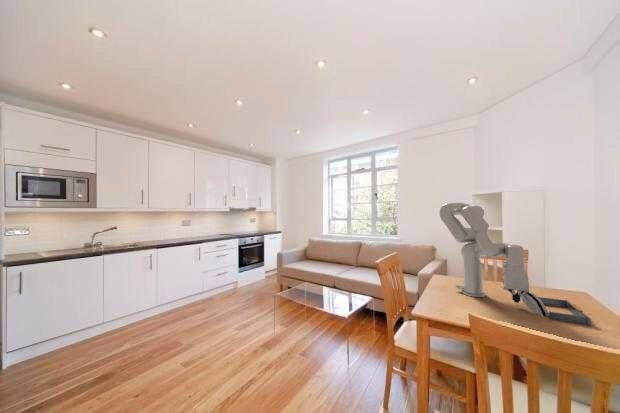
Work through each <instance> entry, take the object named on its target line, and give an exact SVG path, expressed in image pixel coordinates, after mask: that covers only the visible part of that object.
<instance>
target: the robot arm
mask: <svg viewBox="0 0 620 413" xmlns="http://www.w3.org/2000/svg"><path fill="white" fill-rule="evenodd" d="M484 215H485V210H484V208H483V207H481V206H479V205H476V204H472V203H471V204H469V203H464V202H447V203H445V204H443V205H441V207H440V209H439V217H440V219H441V221H442V222H443V224H444V225H445V226H446V228H447V229H448V231H449V233H450V235H452V237H453V238H454V240H455V241H456V242H457V243H460V244H464V245H463V246H462V247H461V248H460V249H461V250H460V252H461V256H462V262H463V263H462V264H463V265H462V266H463V267H462V268H463V283H462V285H460V284H456V285H455V288H456V289H457V290H461V293H462V294H464V295H465V296H469V297H472V298H473V297H474V298H484V297H486V296H487V293H486V292H485V291H484V290H483V266H482V265H483V264H482V262H481V259H480V258H484V257H486V256H487V257H489V258H498V257H499V258H500V257H505V264H502V265H501V266H502V268H504V270H503V275H502V276H503V278H502V283H503V287H502V289H503V290H504V291H507V292H509V293H510V294H511V297H512V298H511V300H512V301H513V302H514V303H517V304H520V302H521V297H520V296H521V294H523V293H527V292H529V291H530V282H529V275H528V273H527V271H526V270H525V256H524V247H523V246H522V245H519V244H508V243H505V242H493V241H492V239H490V237H489V235H488V230H489V227H490V225H489V223H488V222H487V221H486V219H485V218H484ZM455 216H462V218H463V219H464V220H465V221H466V223H467V224H468V225H469V227H466V226H464V224H462V222H461V221H460V220H459V219H458V218H457V217H455ZM515 291H516V292H515Z"/></svg>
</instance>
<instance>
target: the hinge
mask: <svg viewBox="0 0 620 413" xmlns="http://www.w3.org/2000/svg"><path fill="white" fill-rule="evenodd" d="M538 297H539V296H537V295H536V294H535V293H534V292H532V291H530V290H529V292H527V293H523V294H521V296H520V300H521V301H522V303H523V305H525V307H528V308H529V309H530V310H531V311H533V312H534V313H536V314H537V316H539V317H542V318H543V317H544V316H546V317H549V311H548V309H547V308H546V306H545V305H544V304H543V302H542V301H541V300H540V299H539V298H538Z"/></svg>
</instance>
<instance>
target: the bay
mask: <svg viewBox="0 0 620 413" xmlns="http://www.w3.org/2000/svg"><path fill="white" fill-rule="evenodd" d="M537 297H538V298H539V299H540V300H541V301H542V302H543V304H544V306H545V305H546V306H551V307H552V306H553V307H560V308H566V310H568V311H569V312H570V313H572V314H569V313H563V312H556V311H550V310H549V311H548V312H549V316H548V317H549V320H550V321H557V322H563V323H570V324H571V323H572V324H578V325H582V326H587V327H592V325H591V324H592V323H591V317H589V315H587V314H585V313H584V311H583V309H581V308H580V307H579V306H577V305H576V304H574V303H571V302H570V301H569V300H567V299H559V298H551V297H541V296H537Z"/></svg>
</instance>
